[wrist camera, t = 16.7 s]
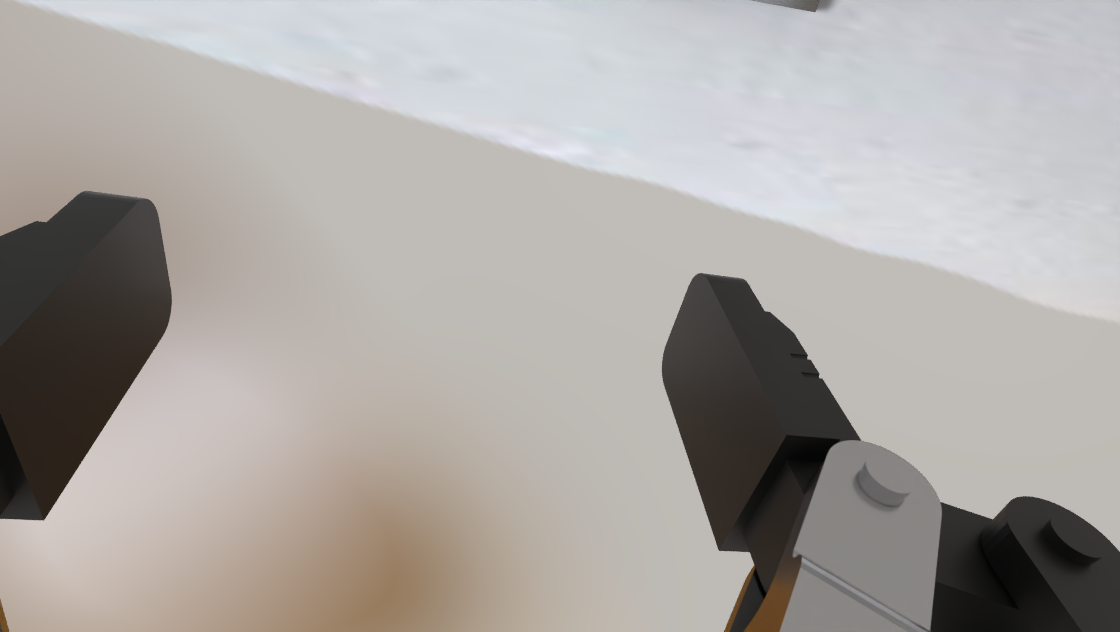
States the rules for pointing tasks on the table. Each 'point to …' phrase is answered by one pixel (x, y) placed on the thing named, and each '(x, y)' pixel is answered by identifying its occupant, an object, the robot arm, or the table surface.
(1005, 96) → the table surface
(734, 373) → the robot arm
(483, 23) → the table surface
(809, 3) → the grey post stand
